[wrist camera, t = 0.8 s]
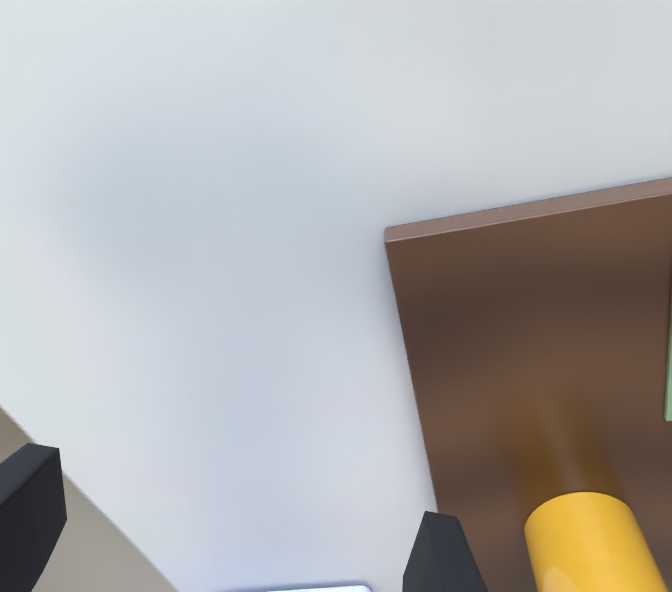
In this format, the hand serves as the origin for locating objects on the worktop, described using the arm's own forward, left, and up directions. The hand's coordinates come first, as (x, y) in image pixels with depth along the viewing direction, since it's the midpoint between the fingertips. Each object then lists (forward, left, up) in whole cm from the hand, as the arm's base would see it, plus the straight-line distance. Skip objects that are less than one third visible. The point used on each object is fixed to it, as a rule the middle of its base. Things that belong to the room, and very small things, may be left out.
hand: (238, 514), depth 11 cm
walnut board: (-10, -12, -10) cm, 18 cm away
